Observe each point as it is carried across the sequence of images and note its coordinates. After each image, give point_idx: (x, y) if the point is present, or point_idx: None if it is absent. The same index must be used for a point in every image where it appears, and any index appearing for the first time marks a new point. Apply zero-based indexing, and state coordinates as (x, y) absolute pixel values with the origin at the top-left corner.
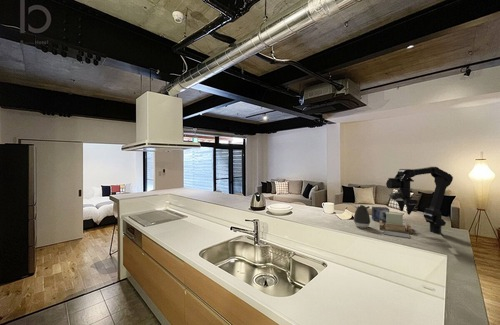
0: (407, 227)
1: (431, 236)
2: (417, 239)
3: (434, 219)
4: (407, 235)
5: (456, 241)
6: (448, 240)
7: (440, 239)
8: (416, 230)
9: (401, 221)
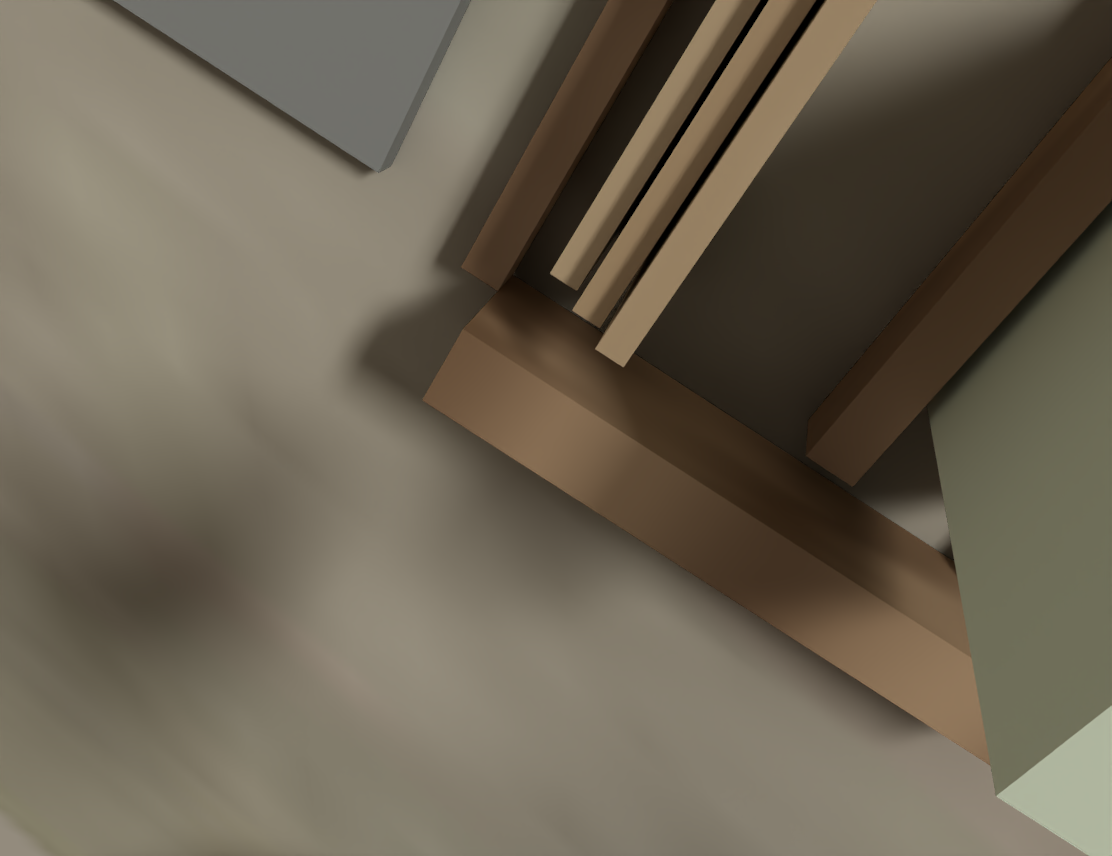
0: (826, 532)
1: (336, 653)
2: (49, 133)
3: None
4: (231, 23)
5: (108, 809)
6: (134, 738)
7: (164, 655)
8: (805, 717)
9: (987, 517)
